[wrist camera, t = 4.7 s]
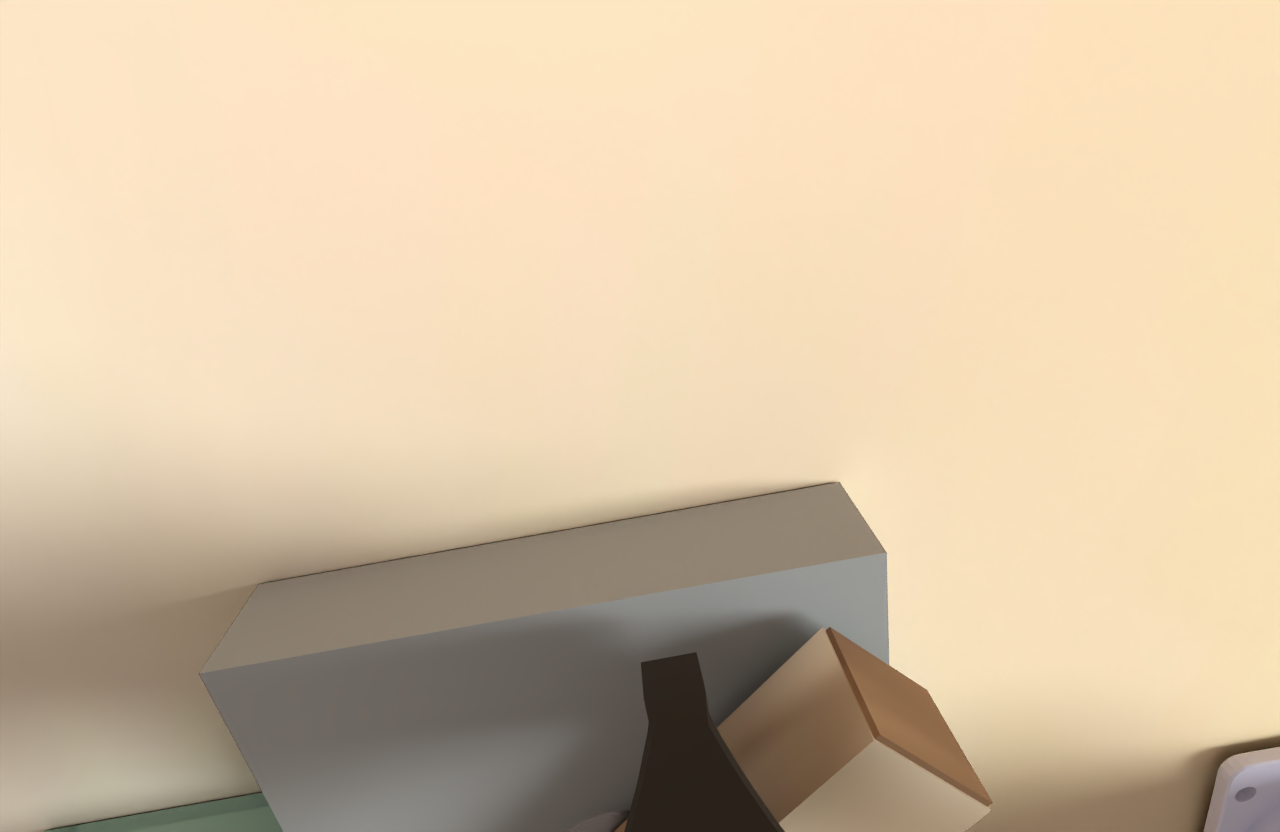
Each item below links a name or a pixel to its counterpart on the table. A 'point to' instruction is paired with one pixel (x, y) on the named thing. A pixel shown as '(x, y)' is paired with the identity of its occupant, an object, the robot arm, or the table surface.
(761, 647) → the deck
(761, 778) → the lever
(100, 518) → the table surface
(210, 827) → the teal dish
